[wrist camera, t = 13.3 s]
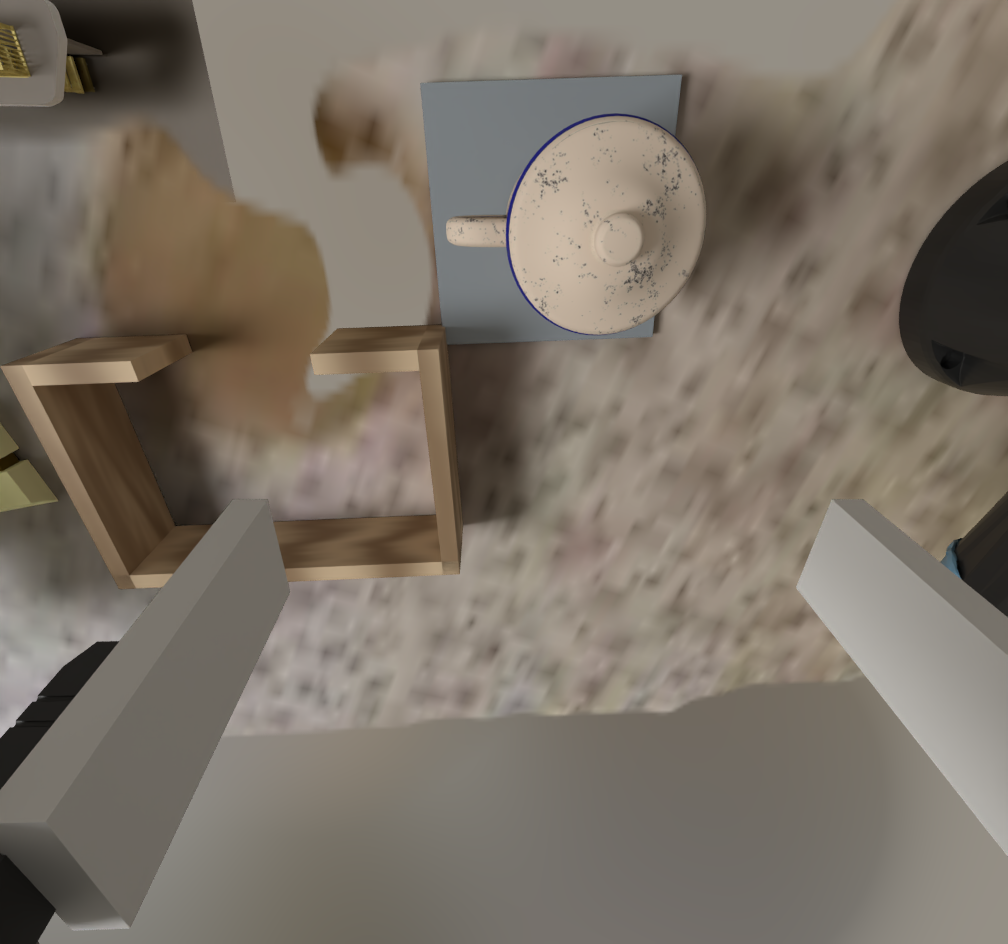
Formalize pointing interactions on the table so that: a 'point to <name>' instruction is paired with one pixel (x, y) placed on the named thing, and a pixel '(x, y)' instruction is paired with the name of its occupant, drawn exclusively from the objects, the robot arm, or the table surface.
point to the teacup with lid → (599, 224)
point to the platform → (109, 74)
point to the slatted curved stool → (19, 479)
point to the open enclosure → (163, 546)
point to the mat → (511, 184)
